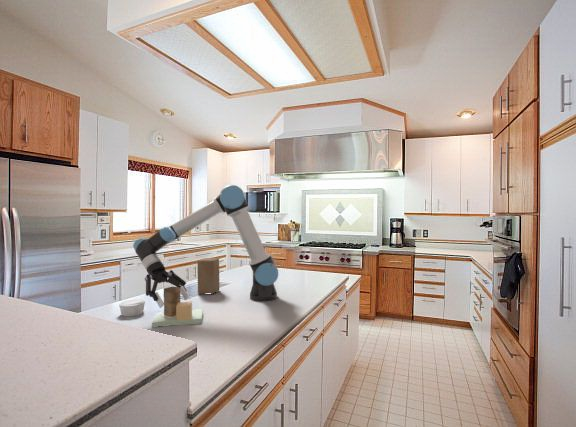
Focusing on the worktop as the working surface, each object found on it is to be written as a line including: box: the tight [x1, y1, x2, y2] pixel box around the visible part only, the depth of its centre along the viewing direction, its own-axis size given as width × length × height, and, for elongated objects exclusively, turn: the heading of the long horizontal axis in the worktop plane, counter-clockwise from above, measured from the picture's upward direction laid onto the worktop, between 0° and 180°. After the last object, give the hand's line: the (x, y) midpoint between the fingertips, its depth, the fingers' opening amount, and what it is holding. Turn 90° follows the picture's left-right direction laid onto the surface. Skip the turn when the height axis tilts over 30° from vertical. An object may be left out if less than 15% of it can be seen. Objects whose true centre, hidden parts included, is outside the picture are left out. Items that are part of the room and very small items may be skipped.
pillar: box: [163, 285, 181, 317], centre depth 144 cm, size 5×5×12 cm
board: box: [151, 308, 204, 328], centre depth 143 cm, size 20×14×2 cm
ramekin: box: [119, 299, 146, 317], centre depth 154 cm, size 11×11×5 cm
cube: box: [176, 301, 193, 320], centre depth 140 cm, size 6×6×6 cm
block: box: [196, 257, 220, 295], centre depth 192 cm, size 10×10×20 cm
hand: (175, 302), depth 143 cm, fingers open, 13 cm apart
